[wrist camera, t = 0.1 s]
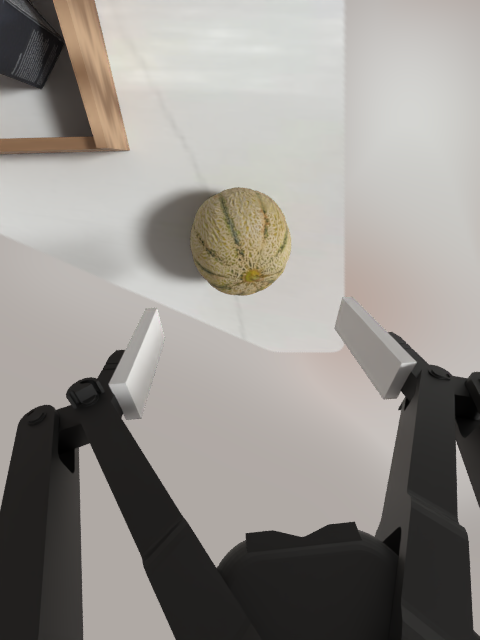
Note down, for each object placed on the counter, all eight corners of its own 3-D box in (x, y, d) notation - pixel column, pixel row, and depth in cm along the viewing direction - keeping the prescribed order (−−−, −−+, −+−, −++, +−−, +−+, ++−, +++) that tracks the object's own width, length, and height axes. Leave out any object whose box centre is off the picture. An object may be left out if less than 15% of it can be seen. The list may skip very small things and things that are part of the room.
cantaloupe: (218, 162, 35) (218, 163, 22) (296, 214, 40) (331, 239, 27) (180, 249, 42) (163, 287, 29) (250, 285, 46) (262, 330, 34)
